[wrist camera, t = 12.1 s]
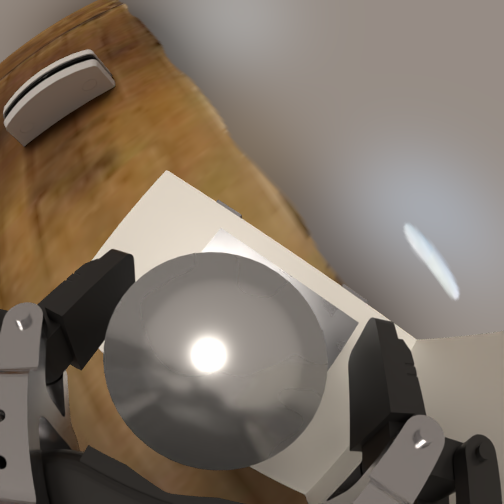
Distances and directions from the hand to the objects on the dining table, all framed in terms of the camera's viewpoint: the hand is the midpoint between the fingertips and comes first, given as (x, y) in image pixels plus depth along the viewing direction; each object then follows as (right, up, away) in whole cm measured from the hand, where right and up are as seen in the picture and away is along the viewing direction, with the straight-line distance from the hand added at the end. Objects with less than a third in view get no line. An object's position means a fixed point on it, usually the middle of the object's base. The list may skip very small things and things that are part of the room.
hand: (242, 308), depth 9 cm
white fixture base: (-1, -5, +13) cm, 14 cm away
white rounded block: (-26, +22, +22) cm, 41 cm away
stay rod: (0, -3, +6) cm, 7 cm away
